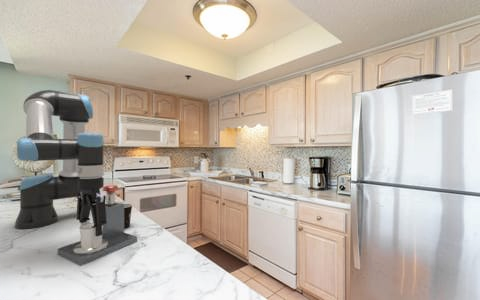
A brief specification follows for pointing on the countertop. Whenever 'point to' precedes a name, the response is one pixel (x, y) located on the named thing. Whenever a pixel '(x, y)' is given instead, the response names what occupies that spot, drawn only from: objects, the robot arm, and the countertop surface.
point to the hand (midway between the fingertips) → (91, 242)
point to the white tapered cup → (86, 235)
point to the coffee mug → (127, 215)
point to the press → (110, 239)
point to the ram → (110, 194)
